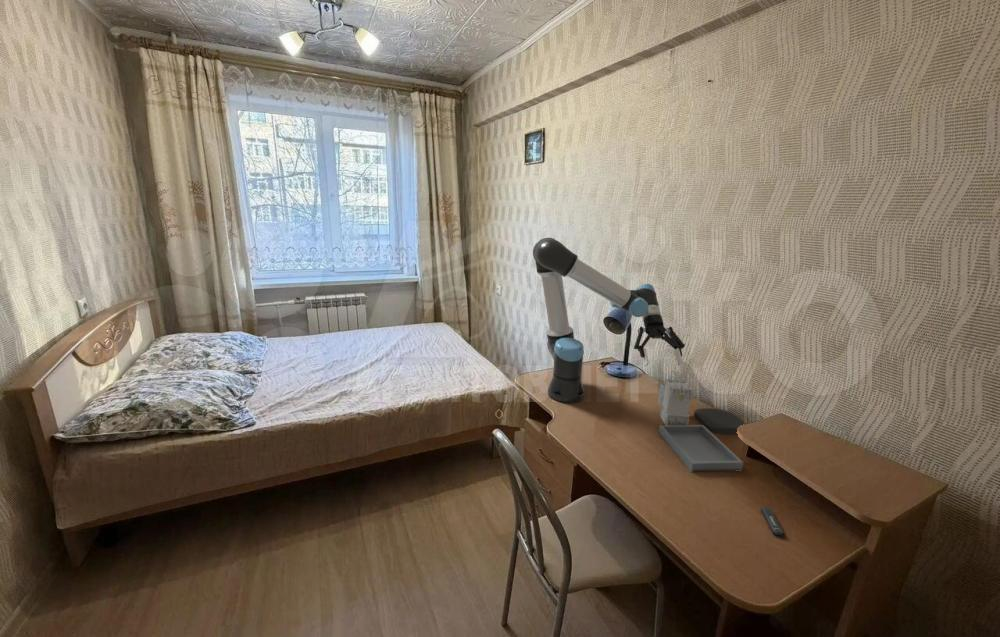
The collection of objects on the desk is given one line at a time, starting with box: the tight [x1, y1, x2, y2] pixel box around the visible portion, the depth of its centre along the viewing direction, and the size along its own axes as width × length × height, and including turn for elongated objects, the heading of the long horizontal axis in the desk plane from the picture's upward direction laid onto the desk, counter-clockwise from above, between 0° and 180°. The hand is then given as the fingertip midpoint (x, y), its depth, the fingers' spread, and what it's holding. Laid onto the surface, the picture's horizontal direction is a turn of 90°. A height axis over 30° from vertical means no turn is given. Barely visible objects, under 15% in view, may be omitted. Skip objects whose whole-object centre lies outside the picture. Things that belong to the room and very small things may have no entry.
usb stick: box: [760, 507, 786, 539], centre depth 102 cm, size 10×3×2 cm, turn 165°
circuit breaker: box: [657, 379, 694, 425], centre depth 152 cm, size 8×14×15 cm, turn 174°
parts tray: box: [658, 424, 744, 473], centre depth 133 cm, size 22×16×3 cm
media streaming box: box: [693, 407, 745, 435], centre depth 150 cm, size 15×15×3 cm
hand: (663, 364), depth 160 cm, fingers open, 13 cm apart
